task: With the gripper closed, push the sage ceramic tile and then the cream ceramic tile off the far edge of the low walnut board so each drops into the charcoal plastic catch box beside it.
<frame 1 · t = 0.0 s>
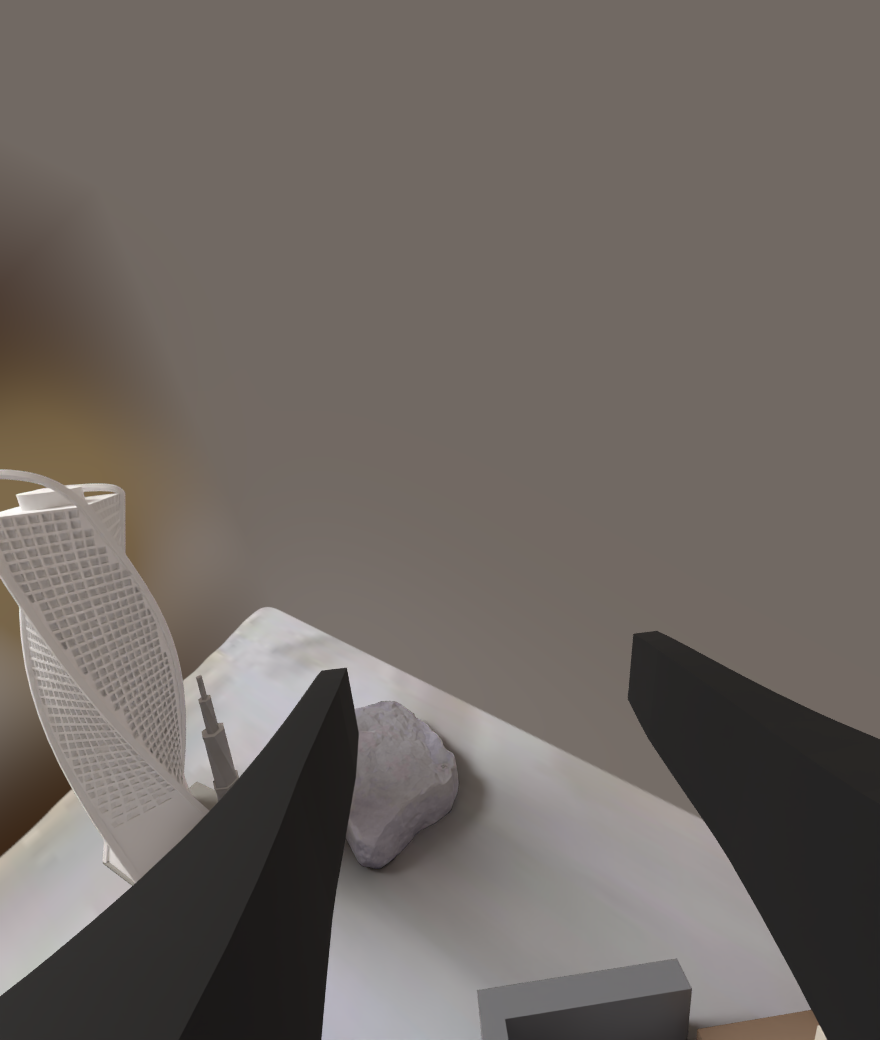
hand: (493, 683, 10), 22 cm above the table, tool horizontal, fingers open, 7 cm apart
skyscraper: (169, 847, 30), on the table
stone block: (388, 784, 34), on the table
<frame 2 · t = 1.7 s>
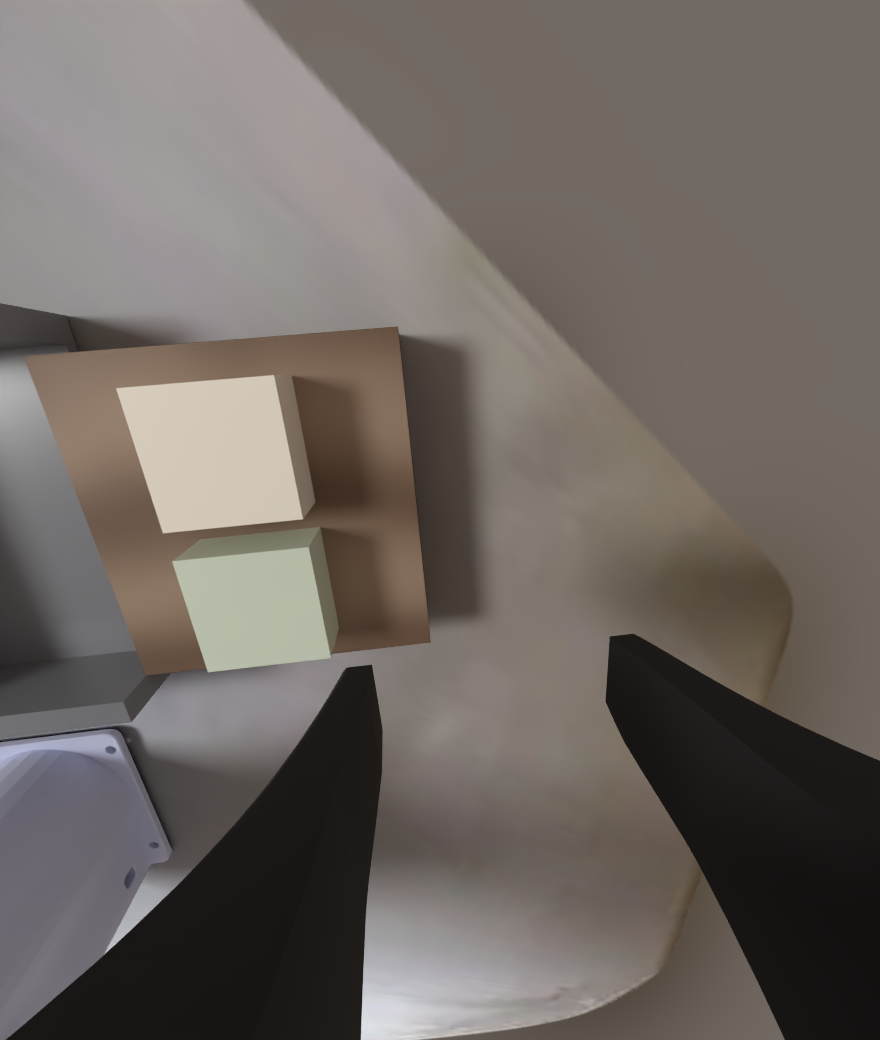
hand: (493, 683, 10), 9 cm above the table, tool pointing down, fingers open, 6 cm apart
catch box: (35, 520, 17), on the table
sage tile: (273, 585, 16), point 2 cm above the table, touching walnut board
cream tile: (240, 447, 15), point 2 cm above the table, touching walnut board
walnut board: (277, 502, 18), on the table
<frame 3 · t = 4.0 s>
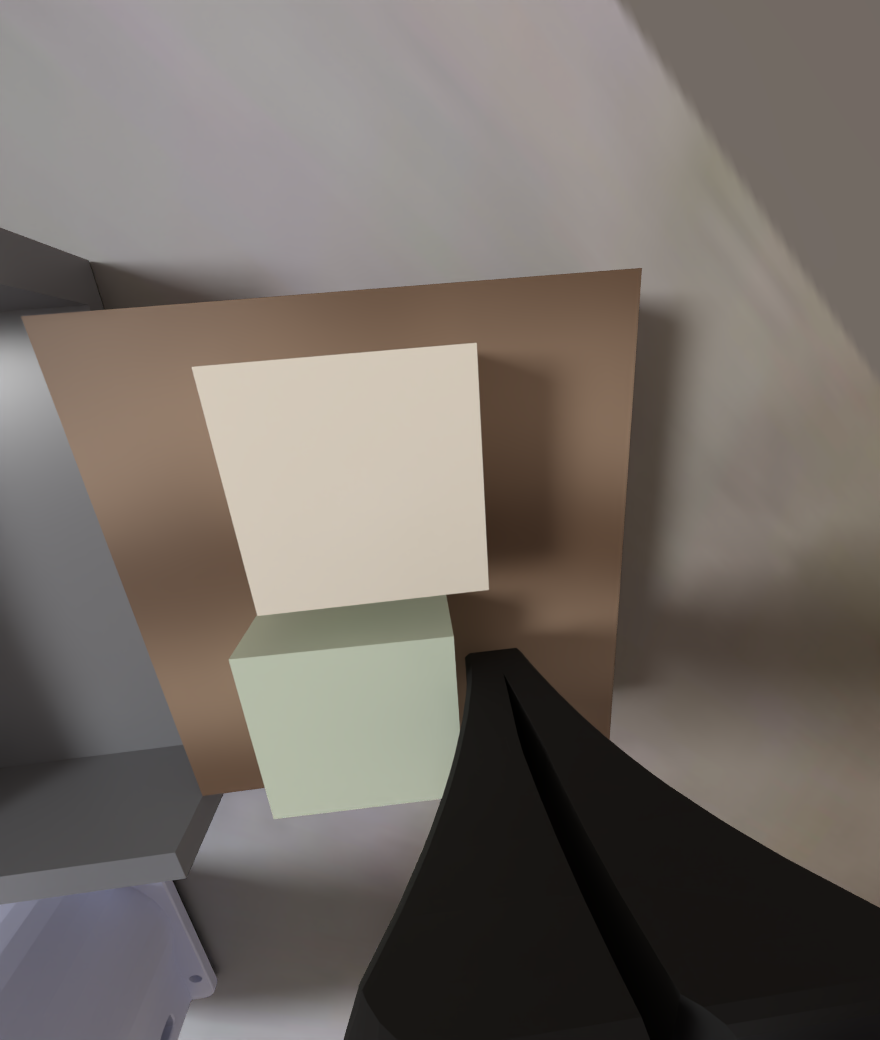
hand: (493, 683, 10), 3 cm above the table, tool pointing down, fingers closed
catch box: (39, 569, 12), on the table
sage tile: (366, 672, 11), point 3 cm above the table, touching gripper, walnut board
cream tile: (367, 468, 9), point 2 cm above the table, touching walnut board
walnut board: (387, 540, 12), on the table
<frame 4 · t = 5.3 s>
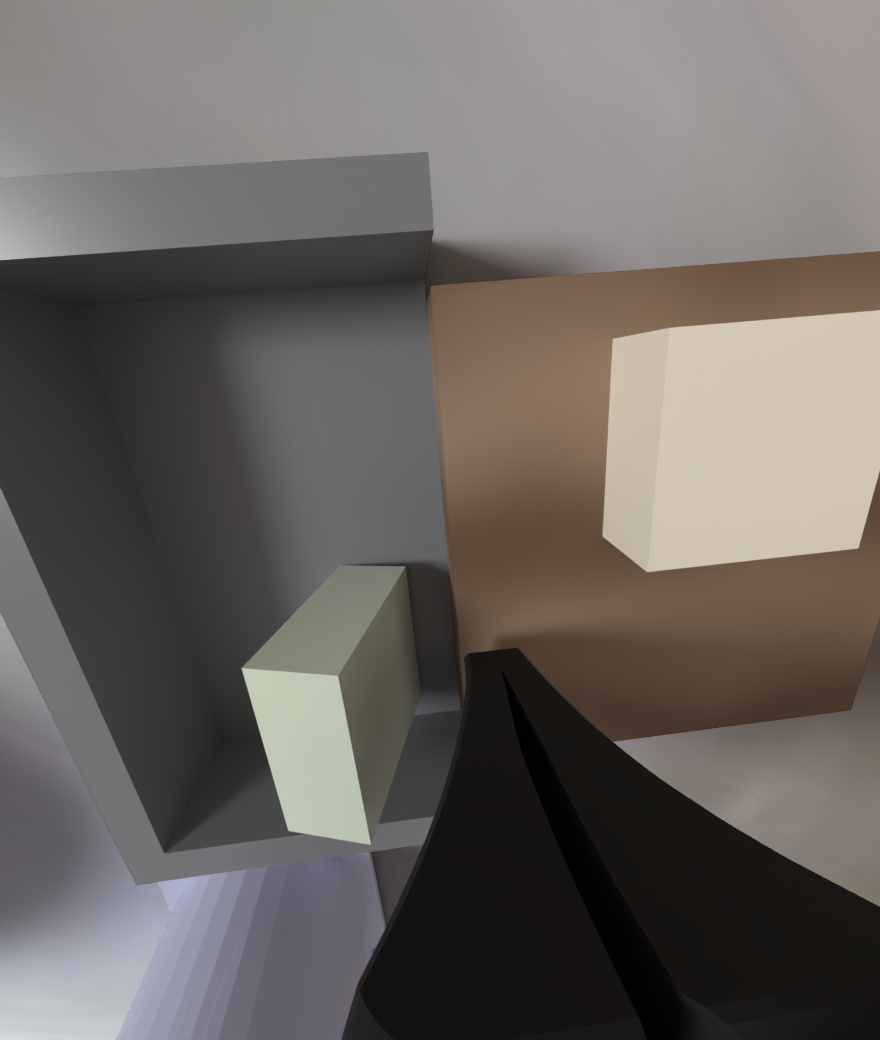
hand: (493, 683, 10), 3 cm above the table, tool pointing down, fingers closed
catch box: (310, 541, 12), on the table
sage tile: (390, 687, 10), point 3 cm above the table, tilted 106°, touching catch box
cream tile: (701, 436, 10), point 2 cm above the table, touching walnut board
walnut board: (636, 514, 13), on the table
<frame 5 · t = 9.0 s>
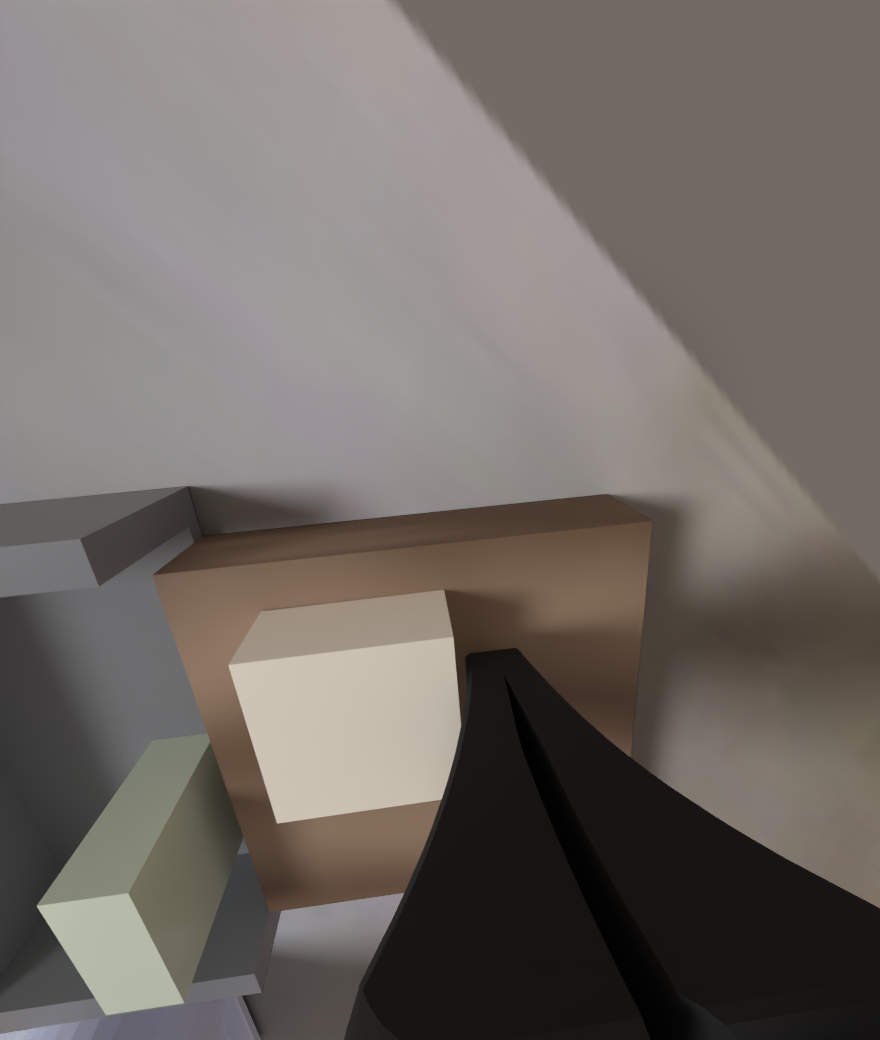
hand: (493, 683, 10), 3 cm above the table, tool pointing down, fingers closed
catch box: (128, 716, 14), on the table
sage tile: (201, 852, 12), point 3 cm above the table, tilted 90°, touching catch box
cream tile: (366, 674, 11), point 3 cm above the table, touching gripper
walnut board: (428, 685, 14), on the table
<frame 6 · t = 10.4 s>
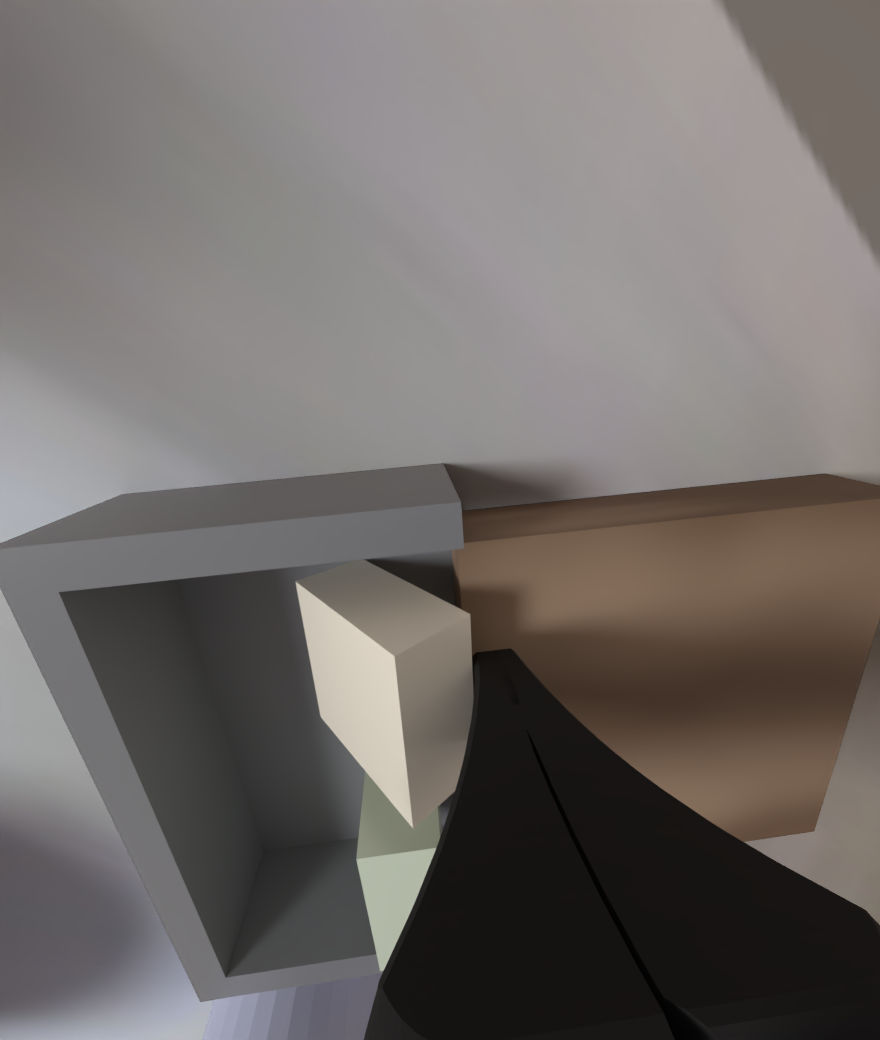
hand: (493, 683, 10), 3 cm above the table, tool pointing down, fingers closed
catch box: (344, 690, 14), on the table
sage tile: (440, 818, 13), point 3 cm above the table, tilted 90°, touching catch box
cream tile: (413, 656, 11), point 2 cm above the table, tilted 53°, touching catch box, gripper
walnut board: (626, 661, 15), on the table
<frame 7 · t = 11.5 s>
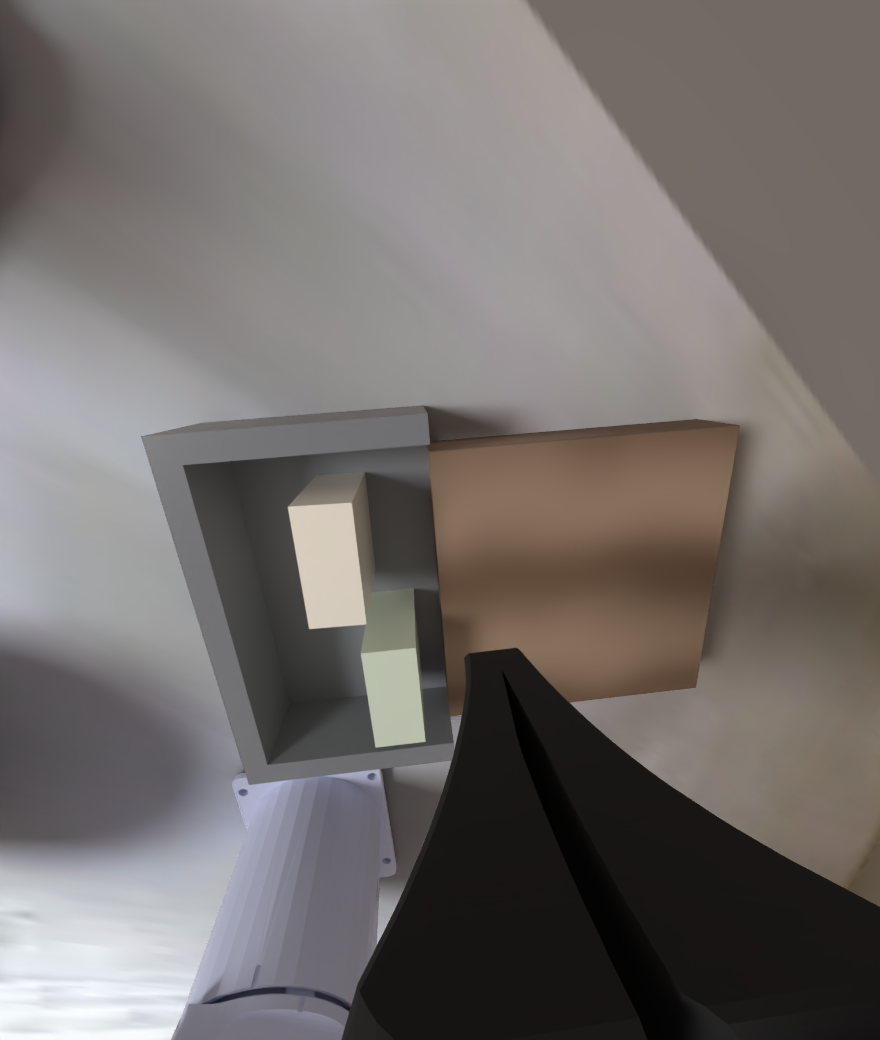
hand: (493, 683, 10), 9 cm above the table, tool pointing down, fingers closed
catch box: (351, 576, 19), on the table
sage tile: (419, 659, 18), point 3 cm above the table, tilted 90°, touching catch box
cream tile: (365, 541, 16), point 3 cm above the table, tilted 90°, touching catch box
walnut board: (559, 561, 20), on the table
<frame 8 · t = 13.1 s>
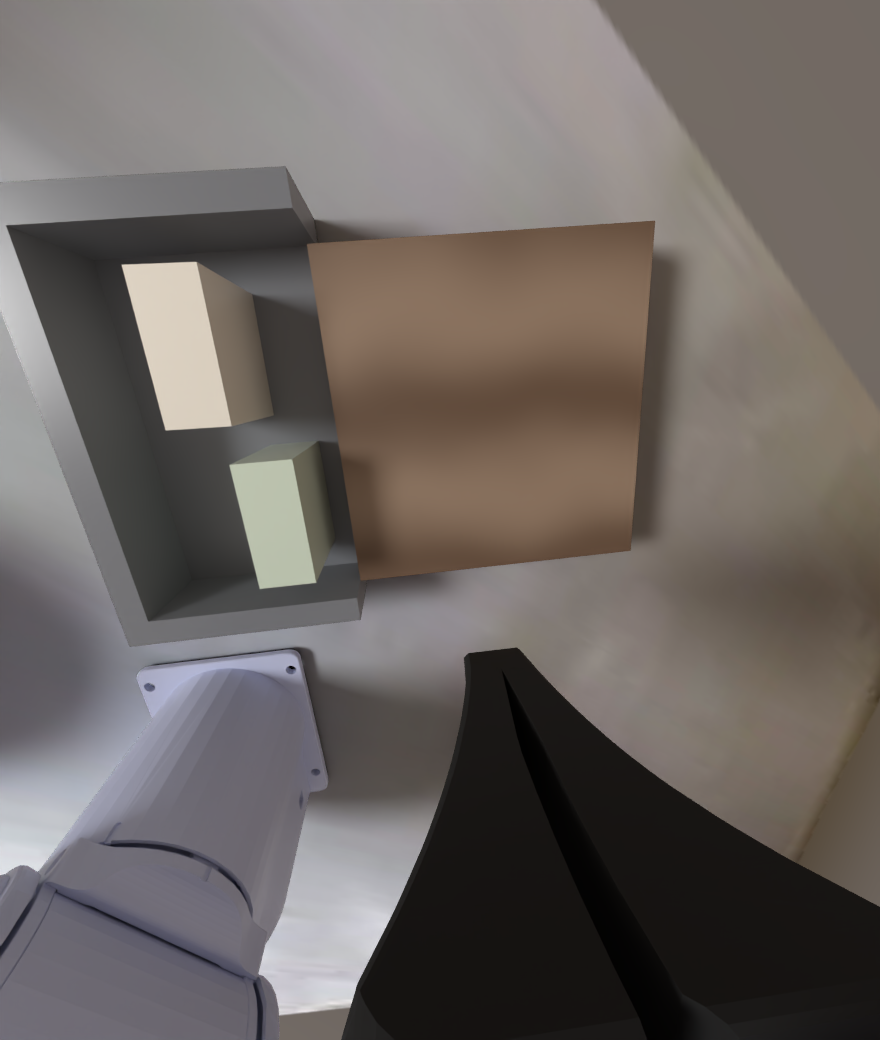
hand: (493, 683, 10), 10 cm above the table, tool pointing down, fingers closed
catch box: (251, 429, 18), on the table
sage tile: (317, 505, 16), point 3 cm above the table, tilted 90°, touching catch box
cream tile: (242, 353, 14), point 3 cm above the table, tilted 90°, touching catch box
walnut board: (480, 414, 18), on the table
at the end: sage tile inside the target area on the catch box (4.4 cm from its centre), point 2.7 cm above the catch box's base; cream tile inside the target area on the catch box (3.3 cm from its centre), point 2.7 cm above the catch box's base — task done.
